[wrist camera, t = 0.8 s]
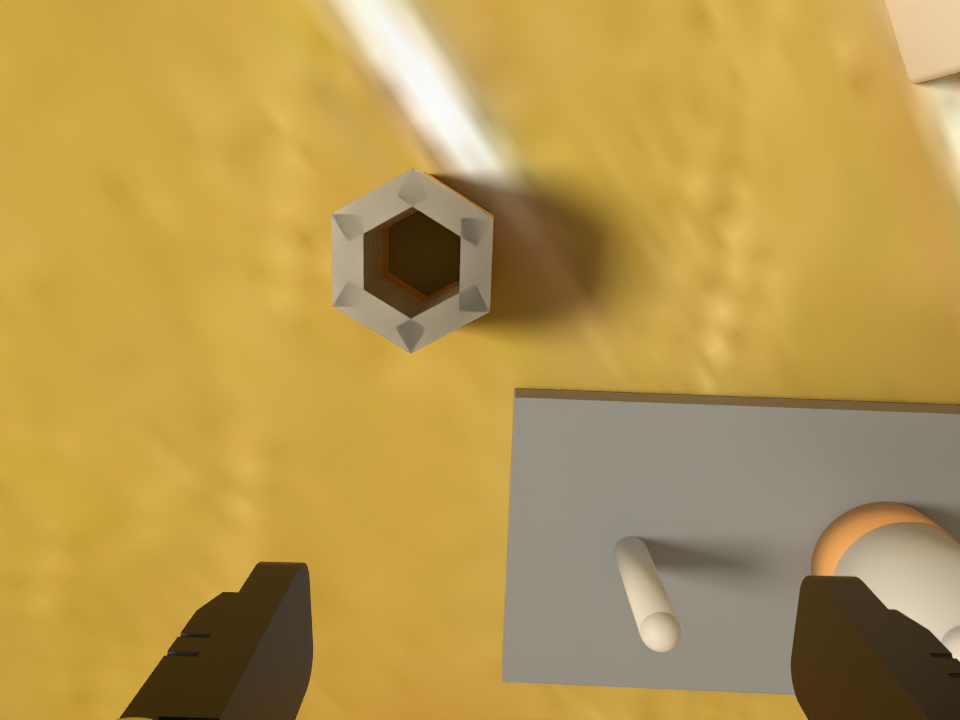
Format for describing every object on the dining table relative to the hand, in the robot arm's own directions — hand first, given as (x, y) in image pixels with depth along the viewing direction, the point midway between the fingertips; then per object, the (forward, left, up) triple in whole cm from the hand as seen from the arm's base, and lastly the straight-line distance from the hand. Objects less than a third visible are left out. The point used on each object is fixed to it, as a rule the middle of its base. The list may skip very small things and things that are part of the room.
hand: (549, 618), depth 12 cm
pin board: (+9, +11, -21) cm, 25 cm away
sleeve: (-4, -4, -21) cm, 21 cm away
